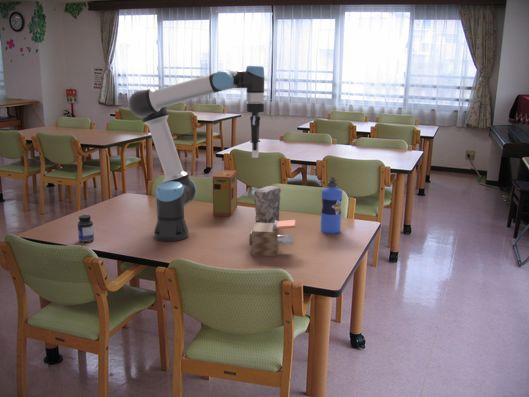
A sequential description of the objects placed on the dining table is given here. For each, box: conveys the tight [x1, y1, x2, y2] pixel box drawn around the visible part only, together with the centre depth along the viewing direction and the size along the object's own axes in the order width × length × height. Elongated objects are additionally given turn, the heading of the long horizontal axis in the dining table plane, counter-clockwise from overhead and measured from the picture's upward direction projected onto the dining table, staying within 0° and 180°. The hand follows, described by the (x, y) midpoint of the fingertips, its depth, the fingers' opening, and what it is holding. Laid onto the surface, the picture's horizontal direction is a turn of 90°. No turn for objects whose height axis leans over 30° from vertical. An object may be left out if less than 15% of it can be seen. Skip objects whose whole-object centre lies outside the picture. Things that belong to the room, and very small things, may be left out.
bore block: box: [251, 222, 280, 257], centre depth 218 cm, size 10×12×10 cm
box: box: [212, 169, 238, 217], centre depth 275 cm, size 17×9×20 cm, turn 172°
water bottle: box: [320, 176, 343, 235], centre depth 243 cm, size 9×9×25 cm
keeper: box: [273, 219, 297, 230], centre depth 216 cm, size 9×9×2 cm
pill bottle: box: [77, 214, 95, 243], centre depth 228 cm, size 6×6×11 cm
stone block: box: [253, 185, 281, 223], centre depth 244 cm, size 13×7×20 cm, turn 151°
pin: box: [248, 230, 294, 247], centre depth 218 cm, size 17×6×6 cm, turn 85°
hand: (255, 157), depth 235 cm, fingers closed
